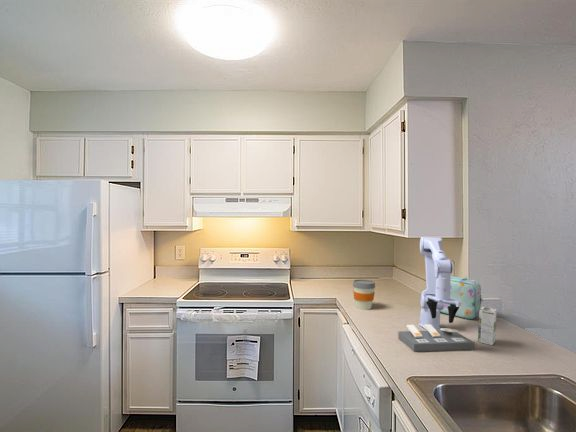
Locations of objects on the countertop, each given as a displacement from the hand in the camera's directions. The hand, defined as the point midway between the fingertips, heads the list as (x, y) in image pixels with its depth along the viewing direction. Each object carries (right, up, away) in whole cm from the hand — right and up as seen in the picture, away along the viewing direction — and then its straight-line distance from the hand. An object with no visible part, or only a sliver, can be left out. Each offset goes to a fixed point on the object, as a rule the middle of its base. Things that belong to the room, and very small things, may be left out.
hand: (442, 320), depth 142 cm
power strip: (-3, -10, 0) cm, 10 cm away
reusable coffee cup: (-22, -9, +51) cm, 57 cm away
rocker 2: (+5, -5, +3) cm, 8 cm away
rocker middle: (-3, -5, +2) cm, 7 cm away
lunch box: (+26, -10, +42) cm, 50 cm away
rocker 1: (-11, -5, +1) cm, 13 cm away
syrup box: (+21, -11, +3) cm, 23 cm away
